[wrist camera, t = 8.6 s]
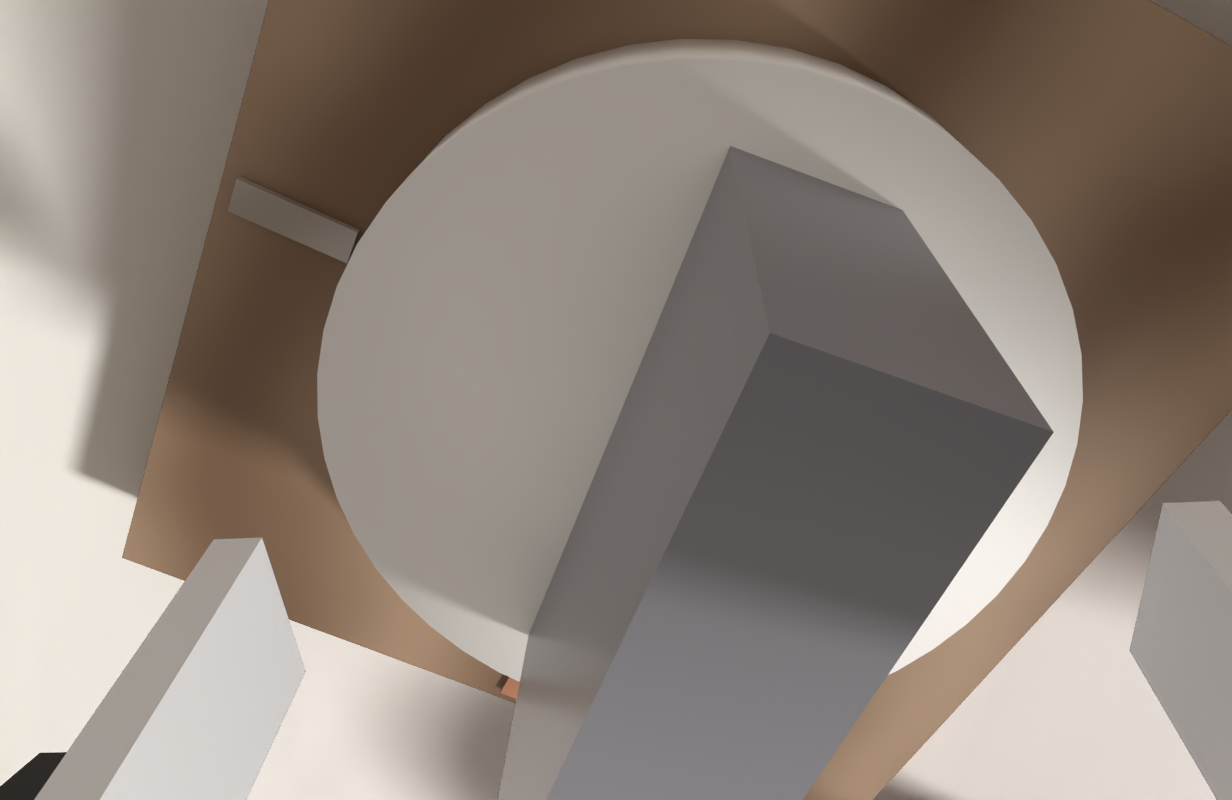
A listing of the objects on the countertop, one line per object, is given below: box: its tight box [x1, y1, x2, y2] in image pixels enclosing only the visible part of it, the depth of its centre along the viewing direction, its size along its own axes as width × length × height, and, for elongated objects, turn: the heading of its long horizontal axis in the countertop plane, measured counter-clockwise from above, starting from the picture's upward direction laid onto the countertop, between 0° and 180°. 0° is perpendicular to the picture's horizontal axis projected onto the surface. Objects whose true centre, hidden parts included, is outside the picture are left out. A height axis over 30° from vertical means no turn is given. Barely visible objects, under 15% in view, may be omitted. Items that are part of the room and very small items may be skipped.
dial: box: [317, 39, 1083, 800], centre depth 16 cm, size 14×14×9 cm
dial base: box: [122, 0, 1232, 800], centre depth 21 cm, size 20×20×2 cm
